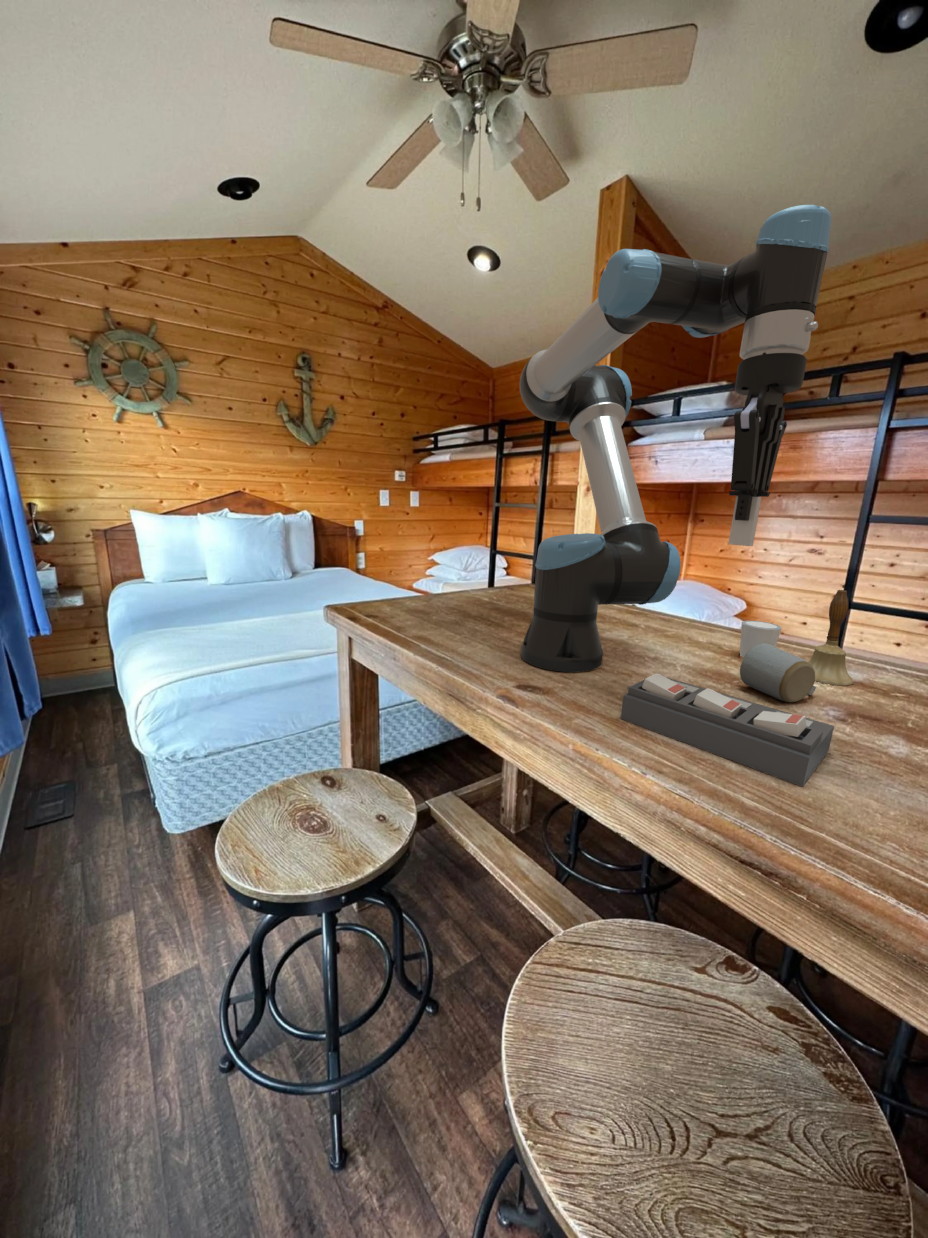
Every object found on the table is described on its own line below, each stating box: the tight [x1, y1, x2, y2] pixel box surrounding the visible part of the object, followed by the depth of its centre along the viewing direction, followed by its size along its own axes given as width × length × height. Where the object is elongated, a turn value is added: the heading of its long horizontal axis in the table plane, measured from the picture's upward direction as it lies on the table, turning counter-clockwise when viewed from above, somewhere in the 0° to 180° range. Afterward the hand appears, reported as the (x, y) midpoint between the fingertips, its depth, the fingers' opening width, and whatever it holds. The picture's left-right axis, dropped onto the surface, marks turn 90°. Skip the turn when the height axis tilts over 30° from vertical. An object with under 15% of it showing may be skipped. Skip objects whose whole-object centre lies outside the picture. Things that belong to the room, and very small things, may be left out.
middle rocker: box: [693, 687, 742, 718], centre depth 63 cm, size 4×4×2 cm
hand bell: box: [807, 589, 854, 687], centre depth 88 cm, size 8×8×16 cm
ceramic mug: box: [739, 643, 817, 703], centre depth 80 cm, size 11×8×8 cm
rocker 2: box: [753, 711, 807, 737], centre depth 58 cm, size 4×4×2 cm
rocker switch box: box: [620, 676, 835, 788], centre depth 66 cm, size 22×12×5 cm, turn 43°
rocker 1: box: [642, 673, 687, 701], centre depth 68 cm, size 4×4×2 cm
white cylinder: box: [739, 620, 782, 657], centre depth 98 cm, size 7×7×7 cm
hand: (740, 544), depth 69 cm, fingers closed
